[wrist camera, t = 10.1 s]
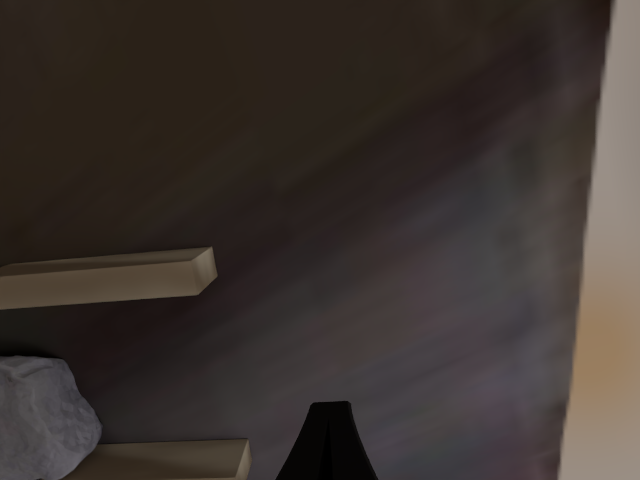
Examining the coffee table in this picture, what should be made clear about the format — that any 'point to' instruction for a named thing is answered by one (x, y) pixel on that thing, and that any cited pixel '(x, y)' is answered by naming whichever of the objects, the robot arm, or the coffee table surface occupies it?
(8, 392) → the stone block
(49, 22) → the coffee table surface
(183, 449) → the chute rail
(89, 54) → the coffee table surface
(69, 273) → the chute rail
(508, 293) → the coffee table surface
